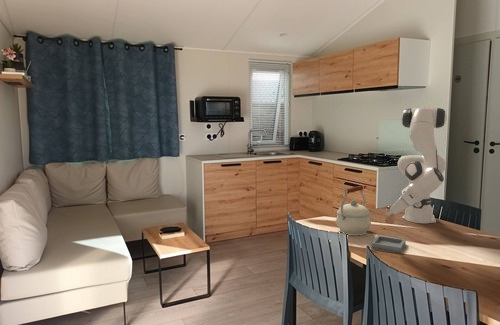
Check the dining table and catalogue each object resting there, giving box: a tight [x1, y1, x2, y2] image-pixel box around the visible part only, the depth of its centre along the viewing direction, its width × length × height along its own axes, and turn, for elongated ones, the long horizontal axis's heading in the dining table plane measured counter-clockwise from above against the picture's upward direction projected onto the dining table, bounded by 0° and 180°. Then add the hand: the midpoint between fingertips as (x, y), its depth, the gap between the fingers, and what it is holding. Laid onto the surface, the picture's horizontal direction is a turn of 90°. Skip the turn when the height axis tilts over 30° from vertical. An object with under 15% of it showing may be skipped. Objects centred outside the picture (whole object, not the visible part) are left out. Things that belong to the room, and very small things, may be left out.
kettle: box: [335, 185, 372, 237], centre depth 206 cm, size 25×18×25 cm
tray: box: [371, 234, 407, 254], centre depth 183 cm, size 13×13×2 cm
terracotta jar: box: [384, 204, 395, 225], centre depth 181 cm, size 4×4×8 cm
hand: (388, 213), depth 182 cm, fingers closed on terracotta jar, 4 cm apart
